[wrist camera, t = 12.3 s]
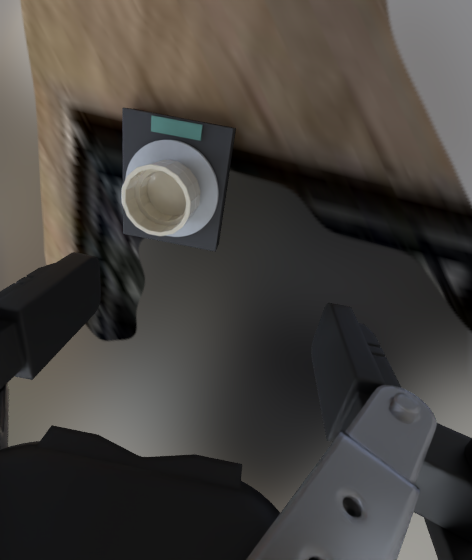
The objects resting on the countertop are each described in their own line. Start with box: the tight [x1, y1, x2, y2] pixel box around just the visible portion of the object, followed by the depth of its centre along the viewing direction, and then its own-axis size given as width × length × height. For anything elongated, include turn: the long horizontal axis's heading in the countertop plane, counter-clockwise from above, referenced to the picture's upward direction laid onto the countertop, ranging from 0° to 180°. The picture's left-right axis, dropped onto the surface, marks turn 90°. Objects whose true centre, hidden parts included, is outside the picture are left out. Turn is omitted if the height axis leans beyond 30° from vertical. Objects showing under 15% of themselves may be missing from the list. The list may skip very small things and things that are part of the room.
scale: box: [123, 108, 236, 251], centre depth 33 cm, size 13×11×3 cm
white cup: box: [122, 159, 201, 236], centre depth 30 cm, size 6×6×5 cm
